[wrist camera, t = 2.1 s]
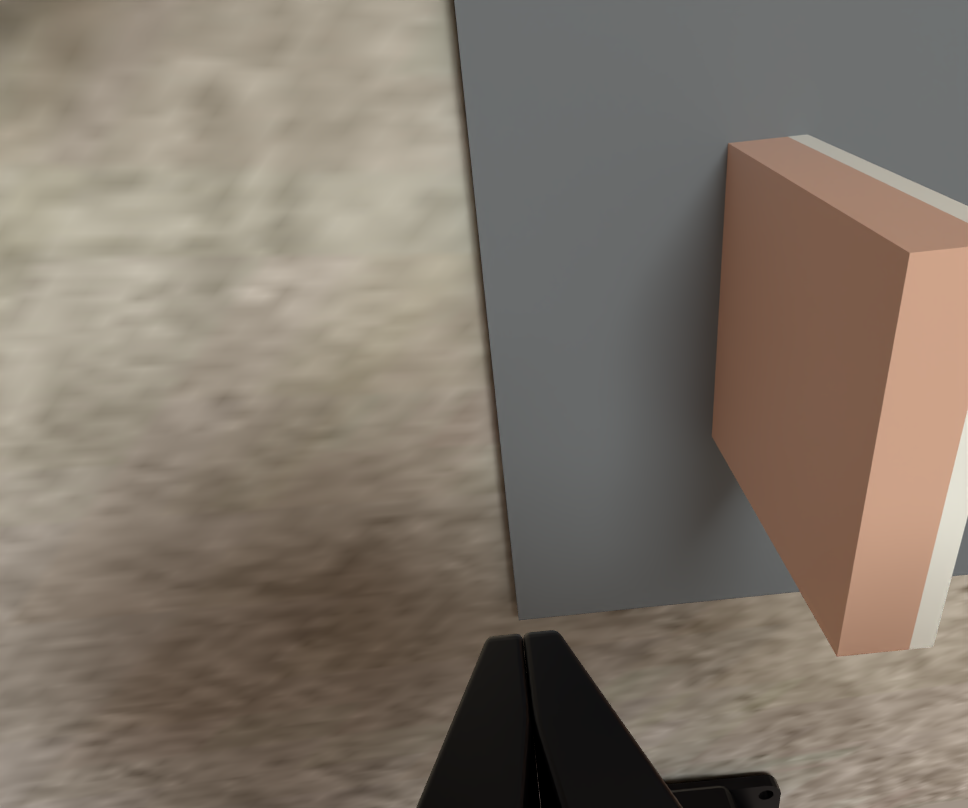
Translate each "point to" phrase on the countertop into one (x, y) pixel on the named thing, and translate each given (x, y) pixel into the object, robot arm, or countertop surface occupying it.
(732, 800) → the robot arm
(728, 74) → the mat
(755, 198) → the tile
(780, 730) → the countertop surface
